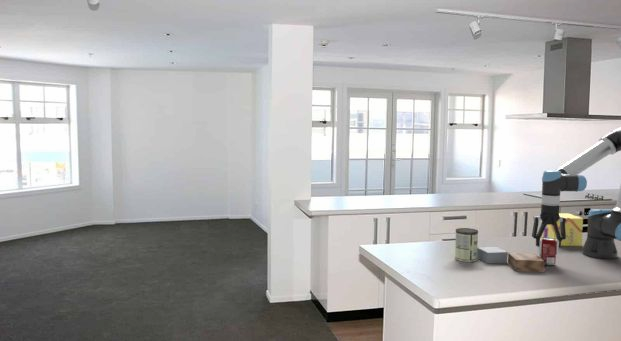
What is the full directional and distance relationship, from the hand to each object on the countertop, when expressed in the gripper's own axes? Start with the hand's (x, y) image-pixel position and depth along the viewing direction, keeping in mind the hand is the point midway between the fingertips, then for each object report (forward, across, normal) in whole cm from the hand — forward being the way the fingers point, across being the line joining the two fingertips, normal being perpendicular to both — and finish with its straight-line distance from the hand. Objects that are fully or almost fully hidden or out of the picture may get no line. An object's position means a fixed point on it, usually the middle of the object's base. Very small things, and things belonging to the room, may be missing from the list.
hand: (547, 253), depth 227 cm
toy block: (+5, -23, -48) cm, 54 cm away
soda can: (+5, 0, 0) cm, 5 cm away
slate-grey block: (+5, +24, -4) cm, 25 cm away
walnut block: (+5, +12, +7) cm, 15 cm away
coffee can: (+5, +36, -4) cm, 36 cm away
